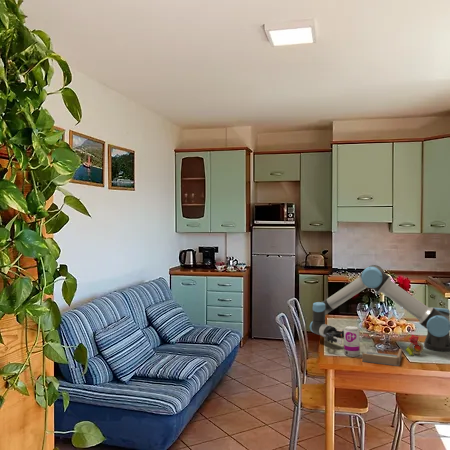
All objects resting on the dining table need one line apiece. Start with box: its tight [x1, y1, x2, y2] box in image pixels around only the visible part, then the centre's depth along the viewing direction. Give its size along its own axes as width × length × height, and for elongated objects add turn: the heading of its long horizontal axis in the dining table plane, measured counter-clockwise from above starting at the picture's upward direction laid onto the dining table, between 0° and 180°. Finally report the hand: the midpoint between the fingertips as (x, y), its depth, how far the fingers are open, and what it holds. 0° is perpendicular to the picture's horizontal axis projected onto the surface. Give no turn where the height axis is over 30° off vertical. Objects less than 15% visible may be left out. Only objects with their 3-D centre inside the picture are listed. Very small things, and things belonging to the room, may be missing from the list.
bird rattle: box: [405, 334, 425, 357], centre depth 245 cm, size 6×11×9 cm
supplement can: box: [343, 325, 361, 358], centre depth 246 cm, size 8×8×15 cm
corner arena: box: [361, 348, 403, 367], centre depth 238 cm, size 18×18×4 cm
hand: (351, 340), depth 245 cm, fingers open, 13 cm apart
